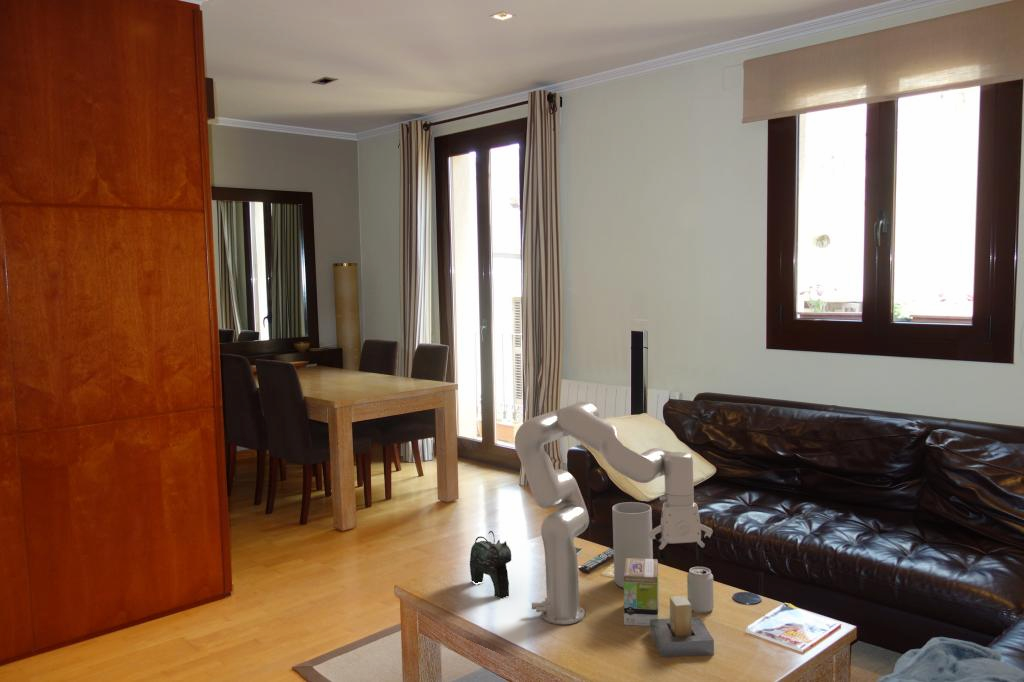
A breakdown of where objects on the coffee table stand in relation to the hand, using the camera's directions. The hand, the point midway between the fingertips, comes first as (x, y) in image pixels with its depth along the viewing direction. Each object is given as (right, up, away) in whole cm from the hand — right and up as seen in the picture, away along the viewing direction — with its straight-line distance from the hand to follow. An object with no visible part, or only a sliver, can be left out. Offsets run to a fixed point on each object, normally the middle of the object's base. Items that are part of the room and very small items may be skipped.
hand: (681, 561), depth 211 cm
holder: (0, -23, +1) cm, 23 cm away
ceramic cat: (-53, -22, +43) cm, 71 cm away
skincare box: (0, -23, +1) cm, 23 cm away
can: (+11, -21, +22) cm, 32 cm away
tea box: (-7, -22, +20) cm, 30 cm away
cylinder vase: (-6, -20, +44) cm, 48 cm away
